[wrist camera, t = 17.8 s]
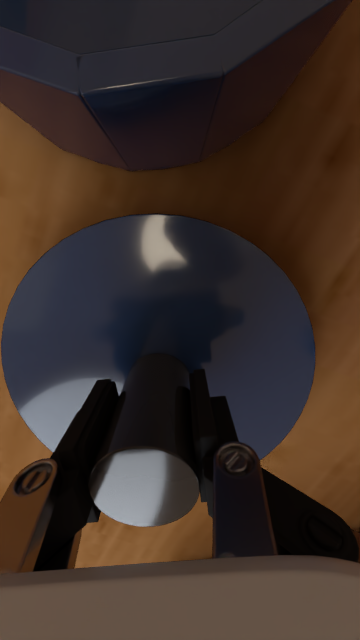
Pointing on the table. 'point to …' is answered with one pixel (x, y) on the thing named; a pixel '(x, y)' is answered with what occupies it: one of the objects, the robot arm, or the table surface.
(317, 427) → the table surface
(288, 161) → the table surface
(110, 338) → the lid
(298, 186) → the table surface
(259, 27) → the pot
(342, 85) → the table surface
